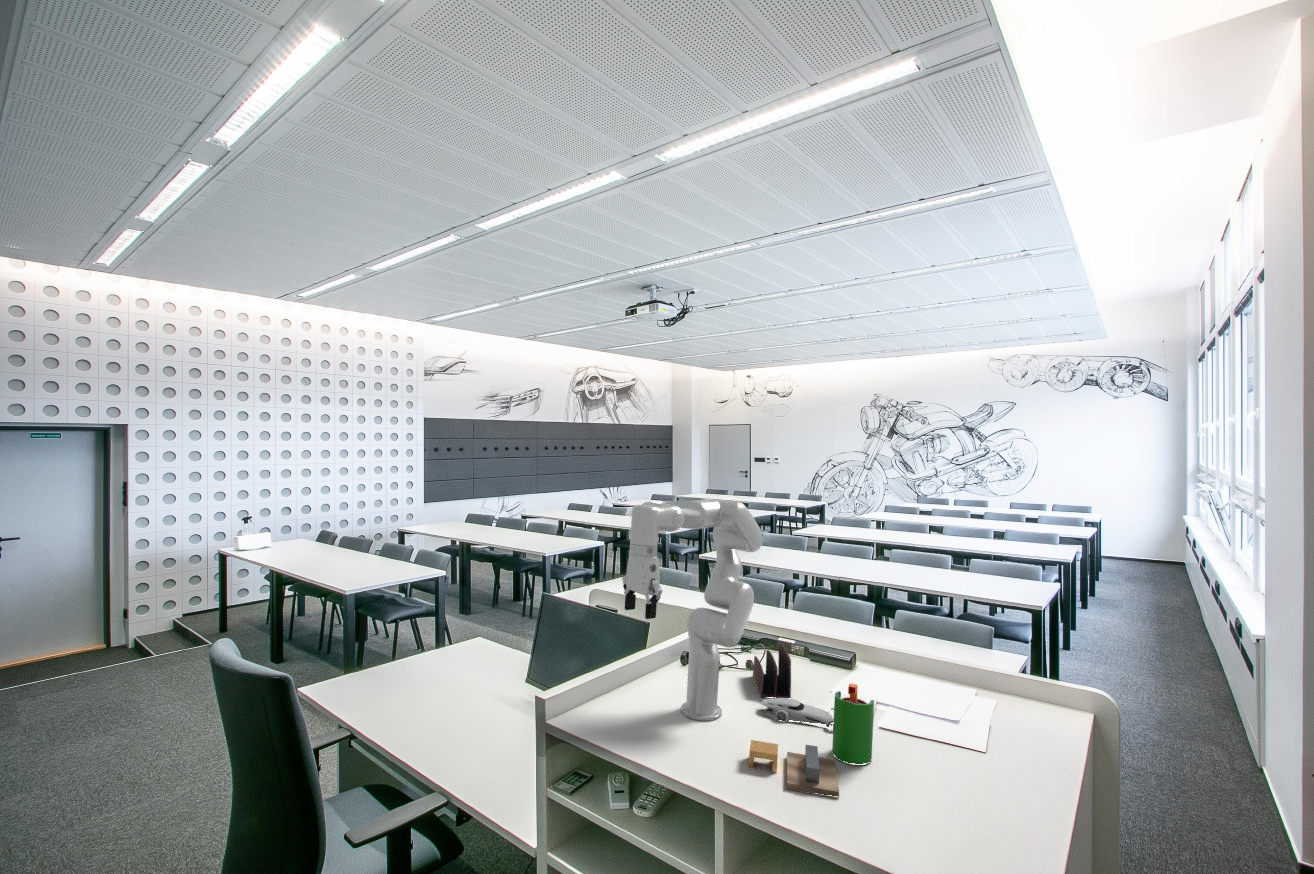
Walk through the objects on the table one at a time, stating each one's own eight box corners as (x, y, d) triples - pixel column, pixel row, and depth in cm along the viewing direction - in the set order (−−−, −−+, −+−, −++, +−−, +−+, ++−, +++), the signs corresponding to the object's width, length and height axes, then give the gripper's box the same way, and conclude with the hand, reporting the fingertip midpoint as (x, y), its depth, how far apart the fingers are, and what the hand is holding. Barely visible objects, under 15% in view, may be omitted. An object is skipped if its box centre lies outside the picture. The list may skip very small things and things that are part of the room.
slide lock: (750, 757, 158) (751, 739, 158) (777, 761, 156) (778, 744, 156) (748, 768, 152) (749, 750, 152) (776, 773, 150) (777, 754, 150)
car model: (841, 734, 175) (841, 717, 175) (758, 718, 183) (759, 701, 183) (842, 719, 185) (843, 703, 185) (764, 704, 193) (764, 689, 193)
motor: (871, 753, 163) (874, 680, 164) (871, 769, 155) (875, 691, 155) (832, 746, 167) (836, 673, 167) (831, 760, 158) (834, 684, 159)
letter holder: (779, 678, 217) (781, 639, 218) (790, 700, 198) (792, 657, 198) (752, 676, 218) (754, 637, 218) (760, 698, 198) (762, 655, 198)
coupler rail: (804, 758, 156) (805, 744, 156) (816, 759, 155) (817, 746, 155) (806, 781, 144) (806, 767, 144) (818, 784, 143) (819, 769, 143)
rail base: (787, 757, 159) (787, 751, 159) (833, 764, 156) (834, 759, 156) (786, 789, 143) (786, 782, 143) (838, 798, 140) (839, 791, 140)
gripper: (673, 555, 158) (670, 620, 157) (636, 545, 172) (633, 604, 171) (651, 556, 153) (647, 623, 153) (614, 546, 167) (611, 607, 167)
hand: (639, 613), depth 162 cm, fingers open, 9 cm apart
